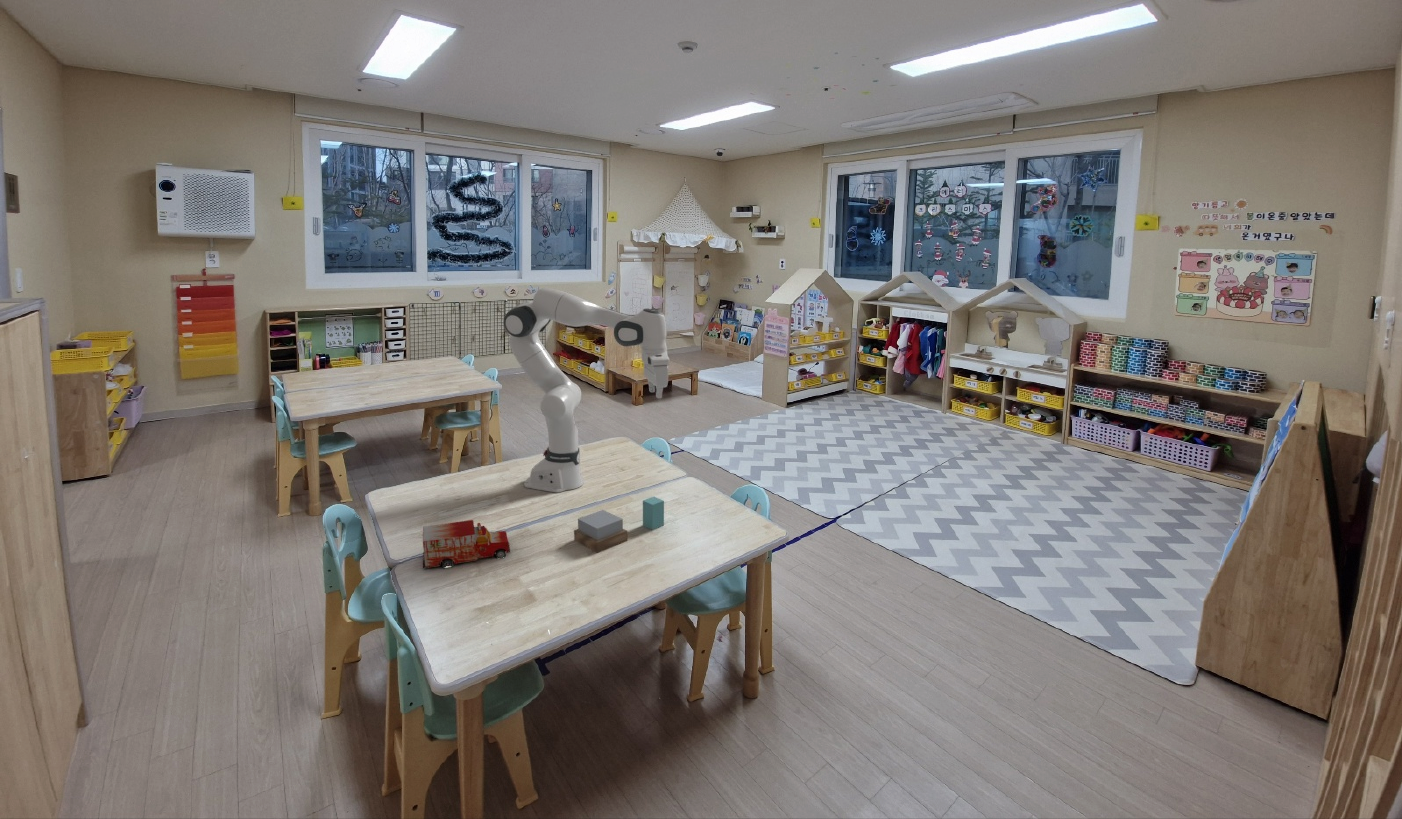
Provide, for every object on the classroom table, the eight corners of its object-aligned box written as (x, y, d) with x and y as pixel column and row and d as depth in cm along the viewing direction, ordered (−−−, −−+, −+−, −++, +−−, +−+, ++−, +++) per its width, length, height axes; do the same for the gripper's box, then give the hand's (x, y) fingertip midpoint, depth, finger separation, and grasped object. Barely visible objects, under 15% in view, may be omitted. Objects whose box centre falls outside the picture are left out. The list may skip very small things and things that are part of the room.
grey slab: (578, 530, 211) (577, 518, 210) (603, 521, 218) (602, 509, 217) (597, 540, 205) (597, 528, 204) (622, 530, 212) (622, 519, 211)
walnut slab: (574, 541, 212) (573, 530, 211) (604, 530, 221) (604, 519, 220) (597, 554, 204) (597, 542, 203) (627, 542, 213) (627, 530, 212)
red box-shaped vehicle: (511, 559, 200) (509, 528, 197) (423, 572, 191) (419, 540, 189) (508, 543, 210) (506, 514, 207) (423, 555, 201) (420, 525, 198)
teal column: (642, 525, 224) (642, 500, 221) (654, 520, 227) (653, 496, 225) (652, 530, 220) (652, 504, 218) (663, 525, 224) (663, 500, 221)
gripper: (638, 351, 239) (640, 389, 243) (652, 361, 220) (654, 402, 224) (655, 350, 241) (656, 387, 244) (671, 360, 222) (672, 400, 226)
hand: (655, 394), depth 234 cm, fingers open, 8 cm apart
